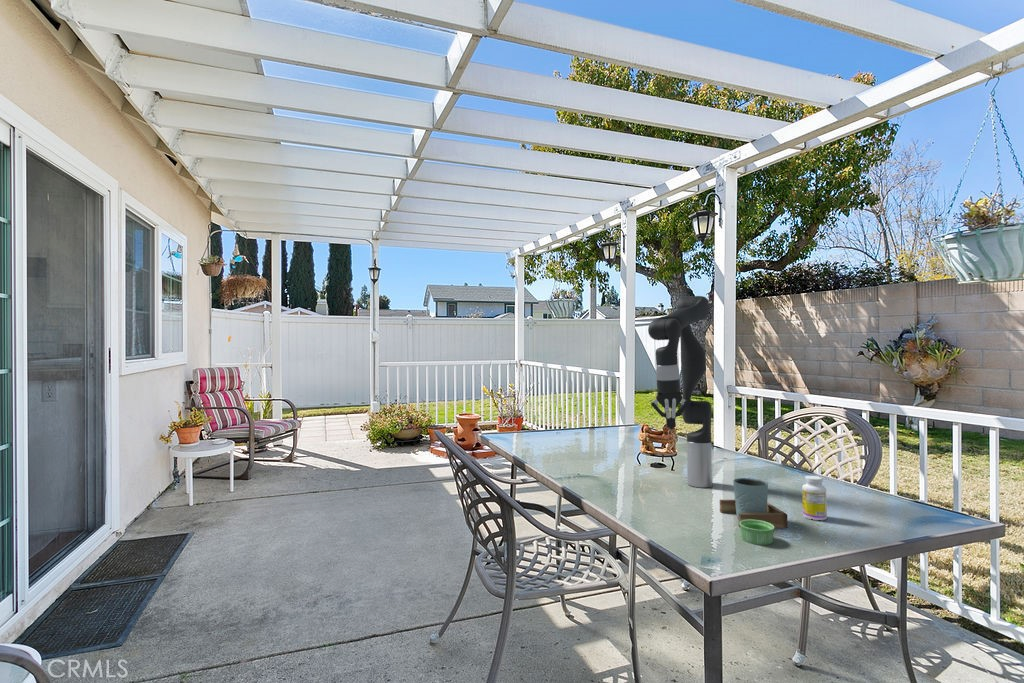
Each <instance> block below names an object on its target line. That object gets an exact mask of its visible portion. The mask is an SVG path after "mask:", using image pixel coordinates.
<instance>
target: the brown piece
mask: <svg viewBox="0 0 1024 683" xmlns="http://www.w3.org/2000/svg"><path fill="white" fill-rule="evenodd" d="M735 503H736V501H735V499H719V513H721V514H736V504H735ZM748 519H752V520H761V521H765V522H768V523H770V524H772V525H773V526H774V529H777V528H780V529H785V528H786V529H787V528H788V522H789V521H788V514H787V513H786V512H784V511H782V510H781V509H780V508H778V507H776V506H774V505H773V504H771V503H770V502H768V501H767V513H739V520H738V527H739V528H740V524H739V522H740V521H742V520H748Z"/></svg>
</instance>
